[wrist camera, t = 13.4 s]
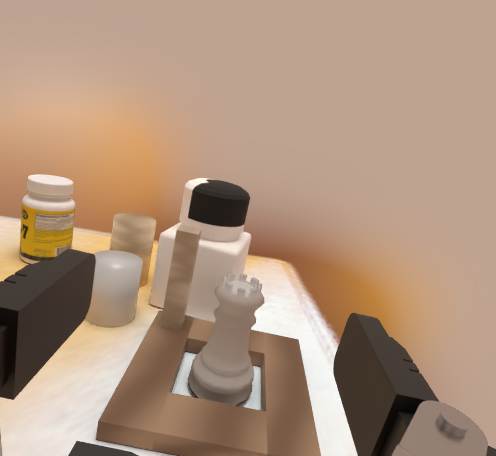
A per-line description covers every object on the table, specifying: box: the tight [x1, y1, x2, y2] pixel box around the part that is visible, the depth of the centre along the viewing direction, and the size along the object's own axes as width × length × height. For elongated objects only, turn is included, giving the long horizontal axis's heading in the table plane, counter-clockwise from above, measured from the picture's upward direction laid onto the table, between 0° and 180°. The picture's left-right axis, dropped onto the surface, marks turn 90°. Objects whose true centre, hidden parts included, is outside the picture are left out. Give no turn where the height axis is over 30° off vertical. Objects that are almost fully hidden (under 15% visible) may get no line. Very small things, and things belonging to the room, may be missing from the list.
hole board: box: [96, 224, 321, 456], centre depth 24 cm, size 12×12×9 cm
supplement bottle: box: [20, 175, 75, 264], centre depth 37 cm, size 5×5×8 cm
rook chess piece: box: [188, 273, 264, 406], centre depth 24 cm, size 4×4×8 cm
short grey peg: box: [85, 250, 143, 328], centre depth 30 cm, size 4×4×5 cm
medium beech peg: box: [110, 213, 156, 287], centre depth 37 cm, size 4×4×6 cm
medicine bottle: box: [150, 178, 251, 322], centre depth 35 cm, size 7×7×12 cm
